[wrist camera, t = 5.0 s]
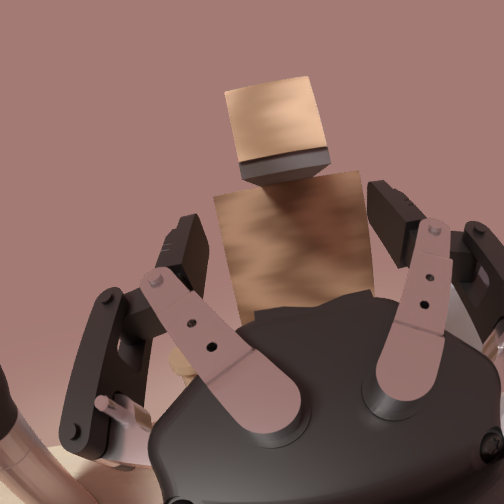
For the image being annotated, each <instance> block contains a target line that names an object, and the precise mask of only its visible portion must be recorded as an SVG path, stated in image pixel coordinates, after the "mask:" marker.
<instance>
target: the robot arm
mask: <svg viewBox="0 0 504 504" xmlns="http://www.w3.org/2000/svg"><path fill="white" fill-rule="evenodd" d="M367 216H368V220H369V223H370V224H371V226H372V227H373V229H374V231H375V232H376V234H377V235H378V237H379V238H380V240H381V241H382V243H383V244H384V246H385V248H386V249H387V251H388V253H389V254H390V256H391V258H392V259H393V261H394V262H395V264H396V266H397V268H398V269H399V268H403V267H408V268H409V272H408V275H407V279H406V283H405V286H404V290H403V293H402V297H401V300H400V303H398V302H396V301H394V300H390V299H386V298H378V297H373V295H372V292H371V290H370V289H368V290H363V291H359V292H354V293H350V294H345V295H342V296H340V297H337V298H335V299H333V300H330V301H328V302H326V303H324V304H321V305H319V306H316V307H289V306H282V307H277V308H271V309H264V310H258V311H254V319H255V320H253V321H251V322H249V323H247V324H245V325H243V326H241V327H240V328H238V329H237V330H236V331H234V330H233V329H232V328H231V327H230V326H229V325H228V324H227V323H226V322H224V320H223V319H222V318H220V317H219V316H218V314H217V313H216V312H215V311H213V309H212V308H211V307H209V305H208V304H207V303H206V302H205V301H204V300H203V295H204V287H205V280H206V273H207V265H208V259H209V245H208V241H207V238H206V235H205V233H204V230H203V227H202V225H201V222H200V219H199V217H198V215H197V214H192V215H187V216H183V217H181V218H180V220H179V223H178V226H177V228H176V229H173V230H172V231H171V232H170V233H169V234H168V235H167V236H166V238H165V241H164V245H163V246H162V249H161V252H160V255H159V257H158V260H157V263H156V266H155V269H153V270H151V271H149V272H148V273H147V274H145V276H144V277H143V278H142V279H141V281H140V287H139V288H137V289H136V290H133V291H131V292H128V293H126V294H123V292H122V291H121V289H120V288H117V287H112V288H109V289H107V290H105V291H103V292H102V293H101V294H100V295H99V296H98V297H97V299H96V301H95V303H94V306H93V308H92V311H91V314H90V316H89V319H88V322H87V325H86V328H85V331H84V334H83V337H82V340H81V343H80V346H79V349H78V352H77V356H76V359H75V362H74V366H73V370H72V373H71V377H70V381H69V385H68V389H67V393H66V397H65V402H64V406H63V411H62V416H61V422H60V427H59V439H60V442H61V445H62V446H63V448H64V449H65V450H67V451H68V452H70V453H73V454H75V455H78V456H80V457H83V458H85V459H88V460H91V461H93V462H96V463H99V464H102V465H105V466H108V467H111V468H114V469H118V470H121V471H131V470H133V469H135V468H136V467H139V468H147V469H153V470H154V472H155V474H156V477H157V479H158V482H159V485H160V488H161V491H162V496H163V504H504V435H503V433H502V429H501V420H500V401H501V397H502V396H504V246H503V245H502V244H501V242H500V241H499V240H498V239H497V237H496V236H495V235H494V234H493V233H492V232H491V230H490V229H489V228H488V227H487V226H485V225H484V224H482V223H480V222H476V221H469V222H467V223H466V225H465V228H464V232H459V231H450V228H449V227H448V225H447V224H445V223H444V222H442V221H440V220H438V219H433V218H427V217H426V216H425V215H424V214H423V213H422V212H421V211H420V210H419V209H418V208H417V207H416V206H415V205H414V204H413V202H411V201H410V200H409V198H408V197H407V196H406V195H405V194H404V193H402V192H400V191H398V190H396V189H392V188H391V187H390V186H389V185H388V184H387V183H386V182H385V181H384V180H379V181H372V182H369V183H368V186H367ZM481 266H482V267H483V269H484V270H485V272H486V273H487V275H488V278H489V287H488V288H487V286H486V285H485V283H484V282H483V280H482V278H481V277H480V275H479V274H478V272H479V270H480V267H481ZM451 283H452V284H453V286H454V288H455V290H456V292H457V293H458V295H459V297H460V299H461V301H462V303H463V304H464V306H465V308H466V310H467V312H468V314H469V316H470V318H471V320H472V322H473V324H474V327H475V329H476V331H477V333H478V335H479V337H480V340H481V342H482V344H483V347H482V353H481V352H480V351H478V350H477V349H475V348H473V347H472V346H470V345H469V344H467V343H465V342H464V341H462V340H461V339H459V338H457V337H456V336H454V335H453V334H451V333H449V332H448V331H446V330H445V324H446V318H447V311H448V305H449V297H450V288H451ZM166 332H168V334H169V335H170V336H171V338H172V339H173V341H174V342H175V344H176V345H177V347H178V348H179V349H180V351H181V352H182V354H183V355H184V356H185V358H186V359H187V360H188V362H189V363H190V364H191V366H192V367H193V368H194V370H195V371H196V372H197V375H196V376H195V378H194V379H193V380H192V381H191V382H190V384H189V385H188V386H187V387H186V388H185V389H184V391H183V392H182V393H181V394H180V395H179V396H178V398H177V399H176V400H175V401H174V402H173V403H172V405H171V406H170V407H169V408H168V409H167V410H166V412H165V413H164V414H163V415H162V416H161V417H160V418H159V420H158V421H157V422H156V423H155V425H154V426H153V427H152V424H151V417H150V414H149V413H148V411H147V410H146V409H144V400H145V391H146V382H147V375H148V368H149V360H150V354H151V347H152V341H153V338H154V337H156V336H159V335H161V334H164V333H166ZM119 339H120V340H121V342H120V346H119V350H117V345H118V341H119ZM0 480H1V481H2V482H3V483H4V484H5V485H6V486H7V487H8V488H9V489H10V490H11V491H12V492H13V493H14V494H15V495H16V496H17V497H19V498H20V499H21V500H22V501H23V502H24V503H25V504H98V502H97V500H96V499H95V498H94V497H93V496H92V495H91V494H90V493H89V492H88V491H87V490H86V489H85V488H84V487H83V486H82V485H80V484H79V483H78V482H77V481H76V480H75V479H74V478H73V477H72V475H71V474H70V473H69V472H68V471H67V470H66V469H65V468H64V467H63V466H62V465H61V464H60V463H59V462H58V461H57V459H56V458H55V457H54V456H53V455H52V454H51V452H50V451H49V450H48V449H47V448H46V446H45V445H44V444H43V443H42V442H41V440H40V439H39V438H38V436H37V435H36V434H35V432H34V431H33V430H32V428H31V427H30V426H29V425H28V423H27V421H26V420H25V419H24V417H23V416H22V414H21V413H20V411H19V410H18V408H17V406H16V405H15V403H14V402H13V400H12V398H11V396H10V392H9V387H8V383H7V380H6V377H5V374H4V372H3V370H2V368H1V365H0Z"/></svg>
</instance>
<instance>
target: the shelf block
mask: <svg viewBox="0 0 504 504" xmlns="http://www.w3.org/2000/svg"><path fill="white" fill-rule="evenodd" d="M213 198H214V203H215V207H216V212H217V217H218V222H219V227H220V231H221V236H222V240H223V245H224V250H225V254H226V259H227V263H228V268H229V272H230V276H231V281H232V285H233V290H234V294H235V298H236V302H237V307H238V311H239V315H240V319H241V323H242V326H243V325H245V324H247V323H249V322H251V321H253V320H255V319H254V311H258V310H264V309H271V308H277V307H282V306H289V307H316V306H319V305H321V304H324V303H326V302H328V301H330V300H333V299H335V298H337V297H340V296H342V295H345V294H350V293H354V292H359V291H363V290H368V289H370V290H371V292H372V295H373V297H375V296H374V278H373V266H372V255H371V246H370V237H369V229H368V221H367V214H366V208H365V202H364V195H363V190H362V184H361V179H360V174H359V171H351V172H344V173H337V174H331V175H325V176H318V177H312V178H306V179H300V180H294V181H288V182H283V183H278V184H272V185H267V186H262V187H257V188H252V189H247V190H243V191H238V192H233V193H229V194H224V195H220V196H215V197H213Z"/></svg>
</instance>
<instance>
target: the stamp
mask: <svg viewBox="0 0 504 504" xmlns="http://www.w3.org/2000/svg"><path fill="white" fill-rule="evenodd" d="M225 97H226V102H227V106H228V111H229V116H230V121H231V126H232V131H233V136H234V140H235V145H236V150H237V155H238V160H239V162H240V163H239V167H240V172H241V177H242V180H245V181H247V182H250V183H253V184H255V185H258V186H260V187H262V186H267V185H272V184H278V183H283V182H288V181H294V180H300V179H306V178H312V177H313V176H314V175H316V174H317V173H319V172H320V171H321V170H322V169H324V168H325V167H327V166H328V165H330V164H331V161H330V156H329V152H328V148H327V147H326V146H327V144H326V141H325V136H324V132H323V128H322V124H321V120H320V116H319V112H318V109H317V105H316V101H315V98H314V94H313V91H312V88H311V84H310V81H309V78H308V76H305V77H298V78H291V79H284V80H278V81H273V82H268V83H262V84H257V85H252V86H248V87H243V88H239V89H235V90H231V91H227V92H225Z"/></svg>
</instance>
